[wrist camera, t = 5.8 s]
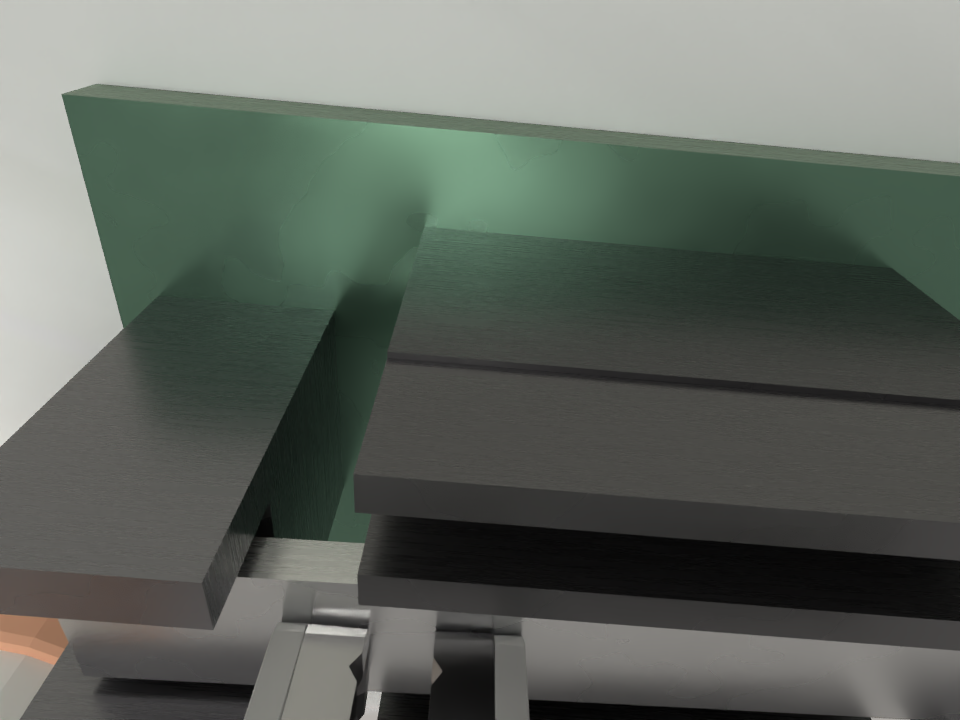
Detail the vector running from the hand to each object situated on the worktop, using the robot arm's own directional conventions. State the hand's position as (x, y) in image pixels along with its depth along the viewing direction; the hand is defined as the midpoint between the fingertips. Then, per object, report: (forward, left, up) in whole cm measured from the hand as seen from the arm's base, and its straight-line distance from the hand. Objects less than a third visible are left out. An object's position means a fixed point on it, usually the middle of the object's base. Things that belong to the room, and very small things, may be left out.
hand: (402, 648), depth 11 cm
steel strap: (-3, 0, -1) cm, 4 cm away
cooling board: (-5, 0, -7) cm, 9 cm away
